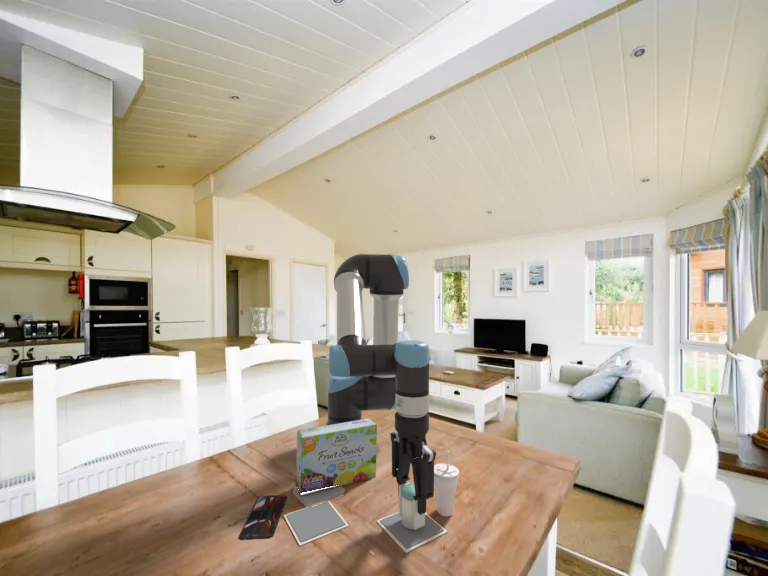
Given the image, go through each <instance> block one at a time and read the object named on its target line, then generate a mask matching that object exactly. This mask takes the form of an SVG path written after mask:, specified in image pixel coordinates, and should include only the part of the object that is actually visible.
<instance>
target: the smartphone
mask: <svg viewBox="0 0 768 576" xmlns="http://www.w3.org/2000/svg"><path fill="white" fill-rule="evenodd" d="M287 498H288V497H287V495H286V494H277V495H276V494H275V495H274V494H273V495H272V494H271V495H260V496H258V497H257V499H256V500H255V503H254V505H253V506H252V509H251V511H250V513H249V515H248V517H247V519H246V521H245V523H244V526H243V527H242V529H241V532H240V533H239V535H238V539H239V540H241V541H242V540H243V541H244V540H255V539H256V540H262V539H263V540H264V539H265V540H266V539H272V538H273V537H274V535H275V533H276V530H277V527H278V524H279V521H280V518H281V516H282V513H283V510H284V509H285V506H286V501H287Z"/></svg>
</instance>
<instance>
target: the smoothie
mask: <svg viewBox="0 0 768 576" xmlns="http://www.w3.org/2000/svg"><path fill="white" fill-rule="evenodd" d="M459 477H460V470H459V468H458V467H456V466H455V465H453V464H450V451H449V450H447V451H446V463H445V462H444V463H443V462H442V463H436V464H434V495H435V501H436V511H437V514H439V515H440V516H443V517H451V516H453V515H454V511H455V502H456V496H457V495H456V494H457V487H458V485H457V484H458V478H459Z"/></svg>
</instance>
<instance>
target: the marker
mask: <svg viewBox="0 0 768 576" xmlns="http://www.w3.org/2000/svg"><path fill="white" fill-rule="evenodd" d="M413 496H416V495H415V487H414V483H412V484H411V483H410V484H408V485H405V486H403V488H402V525H403V526H404V527H406V528H408V529H413Z"/></svg>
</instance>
